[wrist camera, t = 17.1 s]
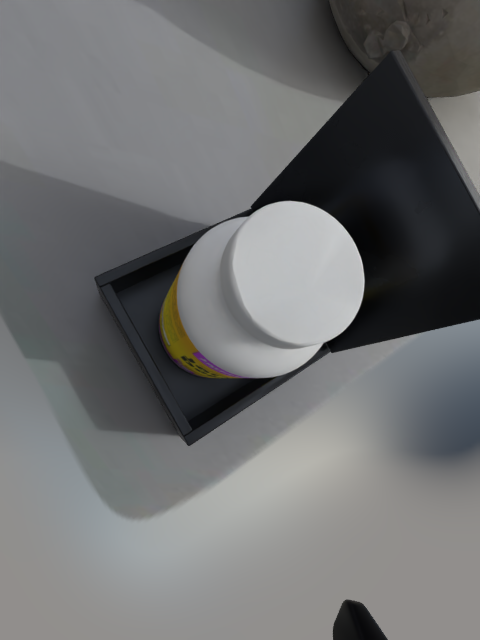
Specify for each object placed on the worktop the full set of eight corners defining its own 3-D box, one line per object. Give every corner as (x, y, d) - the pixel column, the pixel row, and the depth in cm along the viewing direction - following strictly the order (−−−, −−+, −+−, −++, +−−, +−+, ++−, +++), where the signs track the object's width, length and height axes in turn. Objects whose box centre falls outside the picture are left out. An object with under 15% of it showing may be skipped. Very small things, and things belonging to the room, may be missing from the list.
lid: (532, 307, 12) (538, 300, 13) (391, 49, 12) (400, 48, 12) (331, 353, 22) (337, 348, 22) (249, 206, 21) (257, 204, 22)
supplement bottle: (151, 374, 21) (181, 369, 9) (163, 269, 23) (203, 146, 11) (255, 381, 23) (392, 385, 11) (260, 285, 25) (389, 194, 12)
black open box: (179, 436, 22) (188, 446, 19) (99, 292, 22) (93, 277, 18) (304, 355, 25) (331, 351, 22) (235, 230, 25) (251, 207, 22)
